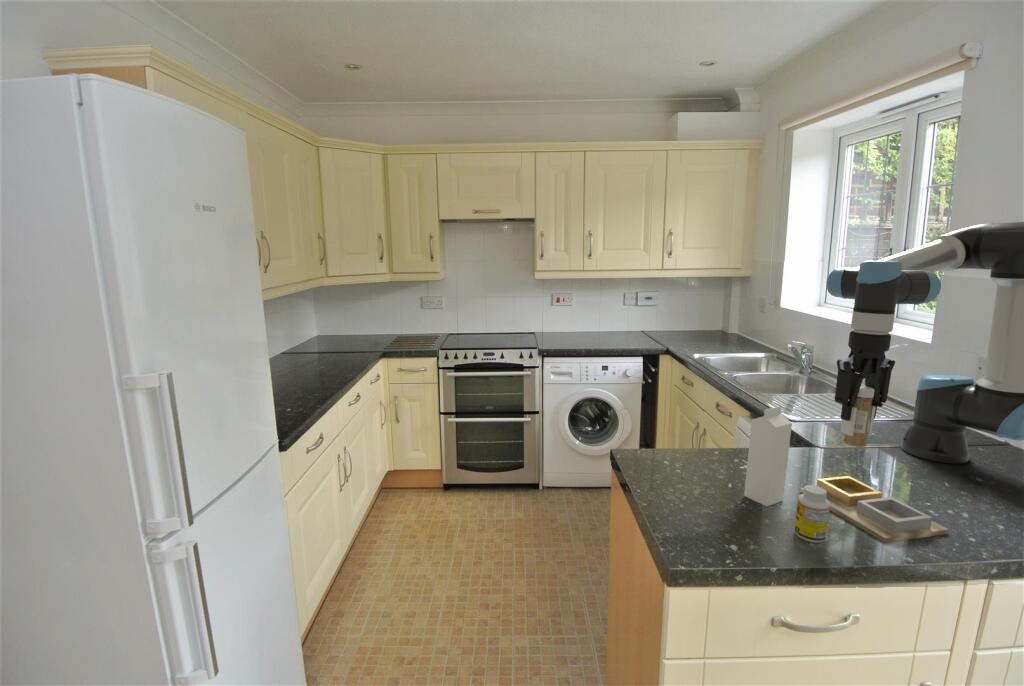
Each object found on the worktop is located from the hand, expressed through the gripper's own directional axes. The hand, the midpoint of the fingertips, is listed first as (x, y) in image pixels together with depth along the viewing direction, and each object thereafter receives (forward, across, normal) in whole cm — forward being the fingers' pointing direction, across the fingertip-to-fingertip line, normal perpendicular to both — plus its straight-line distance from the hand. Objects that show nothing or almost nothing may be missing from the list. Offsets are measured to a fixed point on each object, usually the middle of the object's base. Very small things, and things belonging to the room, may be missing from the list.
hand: (855, 432), depth 116 cm
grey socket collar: (+16, 0, +11) cm, 20 cm away
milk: (+17, +19, -4) cm, 26 cm away
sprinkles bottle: (+3, 0, 0) cm, 3 cm away
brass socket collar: (+16, 0, 0) cm, 16 cm away
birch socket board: (+16, 0, +6) cm, 17 cm away
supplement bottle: (+17, +21, +12) cm, 29 cm away
